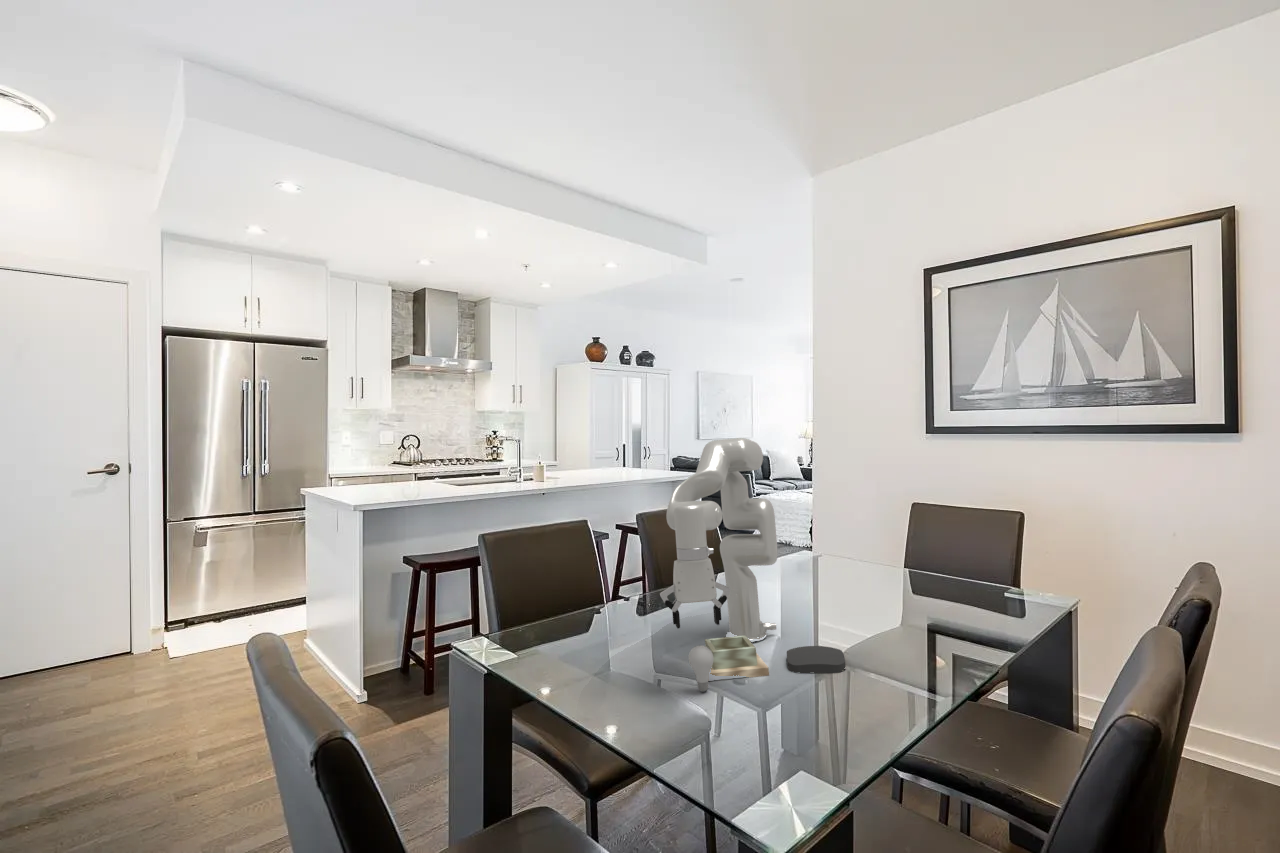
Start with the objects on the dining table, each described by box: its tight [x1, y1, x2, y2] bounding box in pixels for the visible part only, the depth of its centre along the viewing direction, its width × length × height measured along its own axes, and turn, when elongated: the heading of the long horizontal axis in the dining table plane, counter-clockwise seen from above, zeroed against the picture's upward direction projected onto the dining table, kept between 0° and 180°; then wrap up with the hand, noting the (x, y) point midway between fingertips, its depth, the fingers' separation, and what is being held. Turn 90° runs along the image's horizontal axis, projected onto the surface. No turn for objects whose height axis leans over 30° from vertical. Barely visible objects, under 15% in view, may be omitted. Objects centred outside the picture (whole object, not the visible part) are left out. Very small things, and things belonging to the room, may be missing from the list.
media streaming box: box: [786, 645, 847, 674], centre depth 164 cm, size 15×15×3 cm
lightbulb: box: [687, 644, 714, 693], centre depth 151 cm, size 6×6×11 cm
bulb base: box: [704, 635, 770, 678], centre depth 166 cm, size 16×16×6 cm
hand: (697, 625), depth 151 cm, fingers open, 9 cm apart
